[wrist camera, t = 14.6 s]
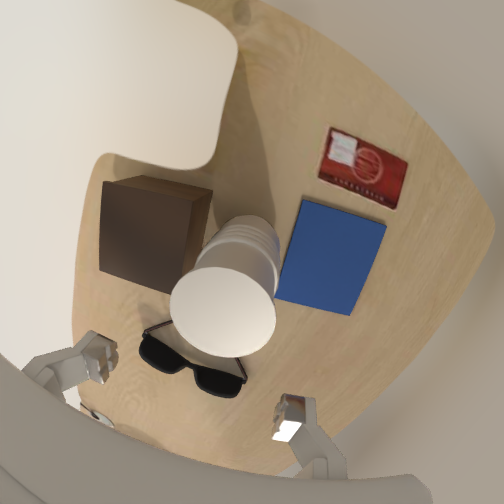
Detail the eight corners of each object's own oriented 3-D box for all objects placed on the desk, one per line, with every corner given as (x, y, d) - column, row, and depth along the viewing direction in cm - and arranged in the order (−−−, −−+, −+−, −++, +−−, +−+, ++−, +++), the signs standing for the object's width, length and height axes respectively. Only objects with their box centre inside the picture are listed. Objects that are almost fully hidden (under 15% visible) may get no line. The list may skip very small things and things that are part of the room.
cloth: (302, 199, 28) (303, 199, 28) (385, 225, 28) (387, 226, 27) (273, 296, 32) (273, 297, 32) (349, 314, 32) (349, 315, 32)
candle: (207, 230, 30) (147, 295, 16) (260, 198, 29) (236, 244, 15) (239, 279, 32) (208, 369, 18) (292, 252, 30) (296, 336, 16)
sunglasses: (288, 318, 33) (288, 343, 29) (242, 383, 38) (237, 408, 34) (165, 260, 32) (147, 278, 28) (142, 338, 38) (128, 358, 33)
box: (140, 173, 29) (102, 181, 22) (215, 189, 29) (193, 201, 22) (132, 246, 32) (99, 270, 25) (200, 266, 32) (178, 297, 25)
